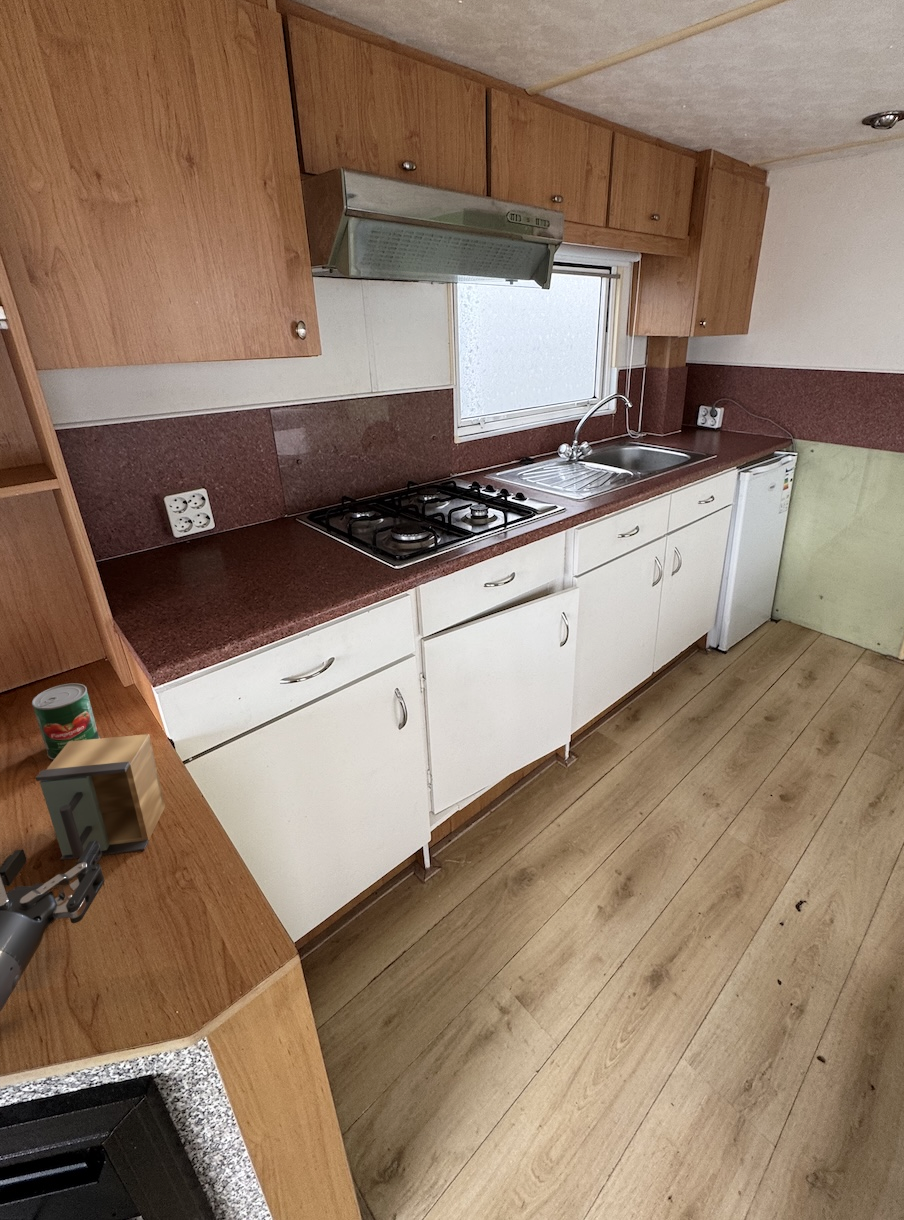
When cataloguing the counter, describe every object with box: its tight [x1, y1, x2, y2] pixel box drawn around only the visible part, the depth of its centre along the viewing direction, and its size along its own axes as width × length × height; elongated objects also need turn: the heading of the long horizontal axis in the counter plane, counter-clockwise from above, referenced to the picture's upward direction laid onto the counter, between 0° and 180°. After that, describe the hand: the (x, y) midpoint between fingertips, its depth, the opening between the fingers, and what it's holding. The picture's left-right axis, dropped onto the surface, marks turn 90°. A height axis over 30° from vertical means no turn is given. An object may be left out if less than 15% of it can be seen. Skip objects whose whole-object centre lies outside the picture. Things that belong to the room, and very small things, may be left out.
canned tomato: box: [31, 682, 101, 760], centre depth 104 cm, size 8×8×11 cm
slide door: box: [39, 776, 108, 857], centre depth 79 cm, size 6×5×13 cm
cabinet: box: [35, 733, 166, 861], centre depth 85 cm, size 11×9×15 cm
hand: (59, 850), depth 75 cm, fingers open, 8 cm apart
